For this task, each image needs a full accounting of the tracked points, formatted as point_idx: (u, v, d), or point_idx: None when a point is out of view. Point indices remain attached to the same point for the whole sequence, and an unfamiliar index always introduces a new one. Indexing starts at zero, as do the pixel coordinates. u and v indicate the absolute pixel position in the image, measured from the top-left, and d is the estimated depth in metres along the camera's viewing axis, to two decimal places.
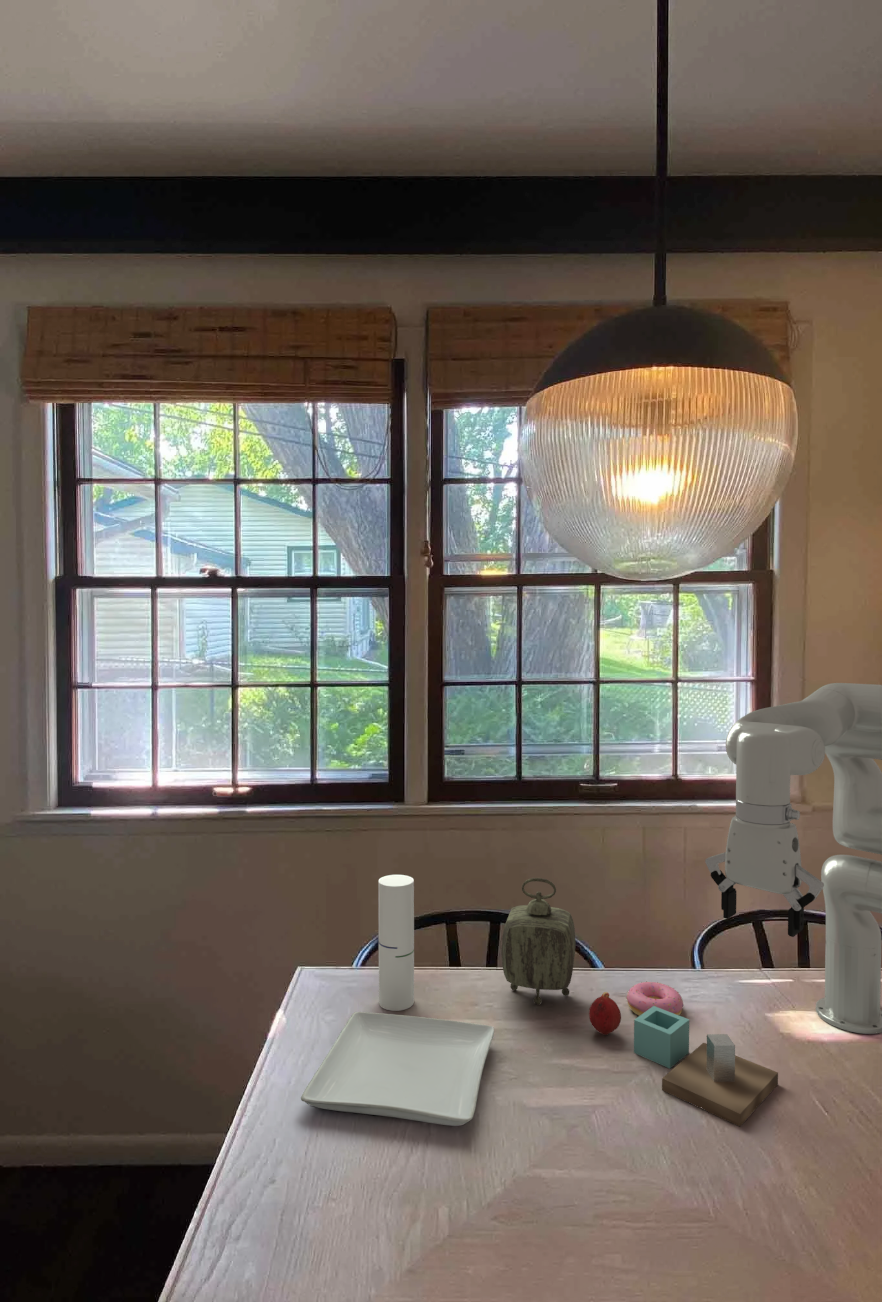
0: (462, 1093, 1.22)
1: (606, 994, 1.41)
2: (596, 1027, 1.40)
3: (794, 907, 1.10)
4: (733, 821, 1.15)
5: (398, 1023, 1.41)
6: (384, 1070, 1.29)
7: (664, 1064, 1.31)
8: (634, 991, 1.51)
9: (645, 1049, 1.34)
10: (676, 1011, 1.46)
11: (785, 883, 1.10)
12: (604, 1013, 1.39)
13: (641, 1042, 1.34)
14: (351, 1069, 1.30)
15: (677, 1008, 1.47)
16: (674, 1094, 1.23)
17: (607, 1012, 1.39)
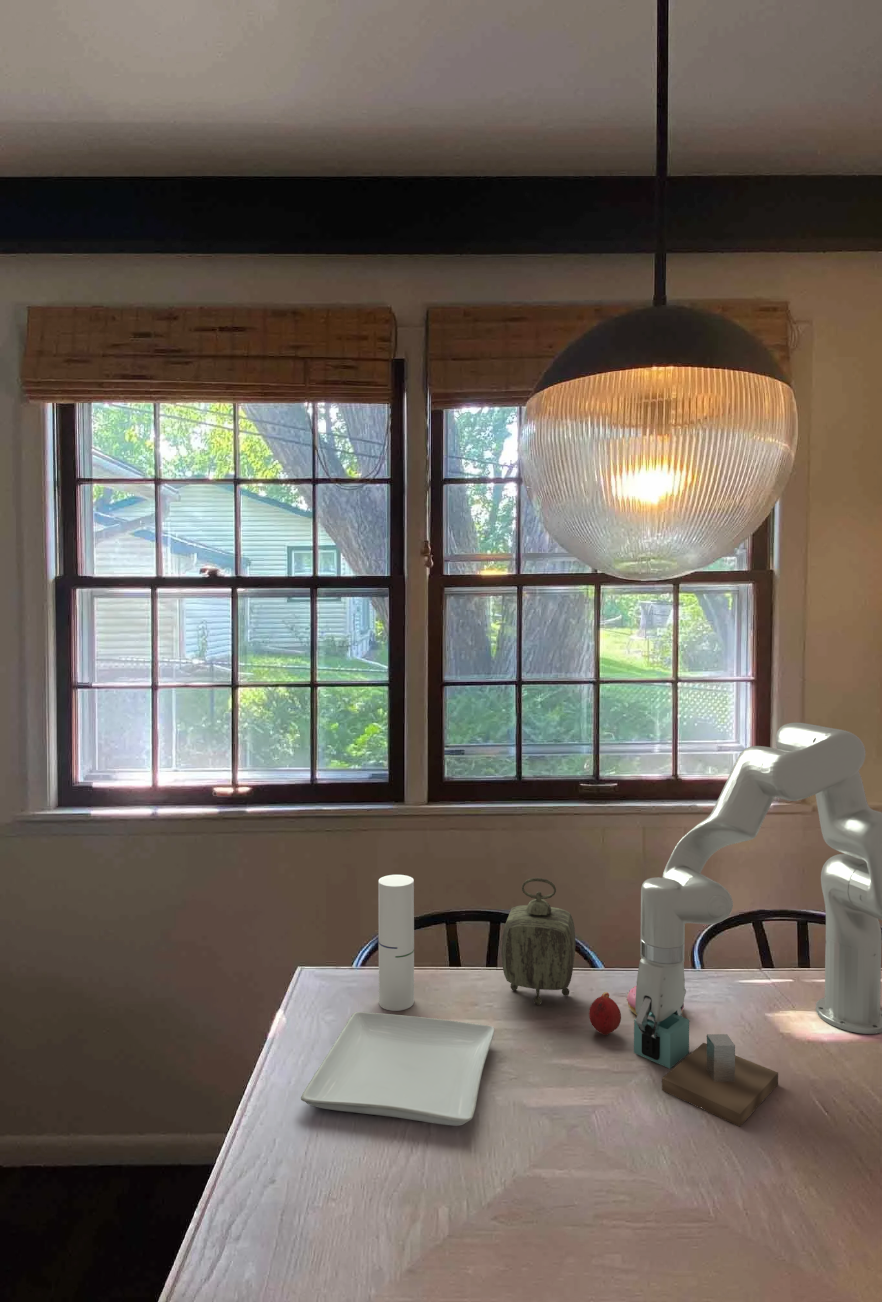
0: (462, 1093, 1.22)
1: (606, 994, 1.41)
2: (596, 1027, 1.40)
3: None
4: (662, 968, 1.31)
5: (398, 1024, 1.41)
6: (384, 1070, 1.29)
7: (664, 1064, 1.31)
8: (634, 992, 1.50)
9: None
10: None
11: (683, 996, 1.37)
12: (604, 1013, 1.39)
13: (641, 1042, 1.34)
14: (351, 1069, 1.30)
15: None
16: (674, 1094, 1.23)
17: (607, 1012, 1.39)
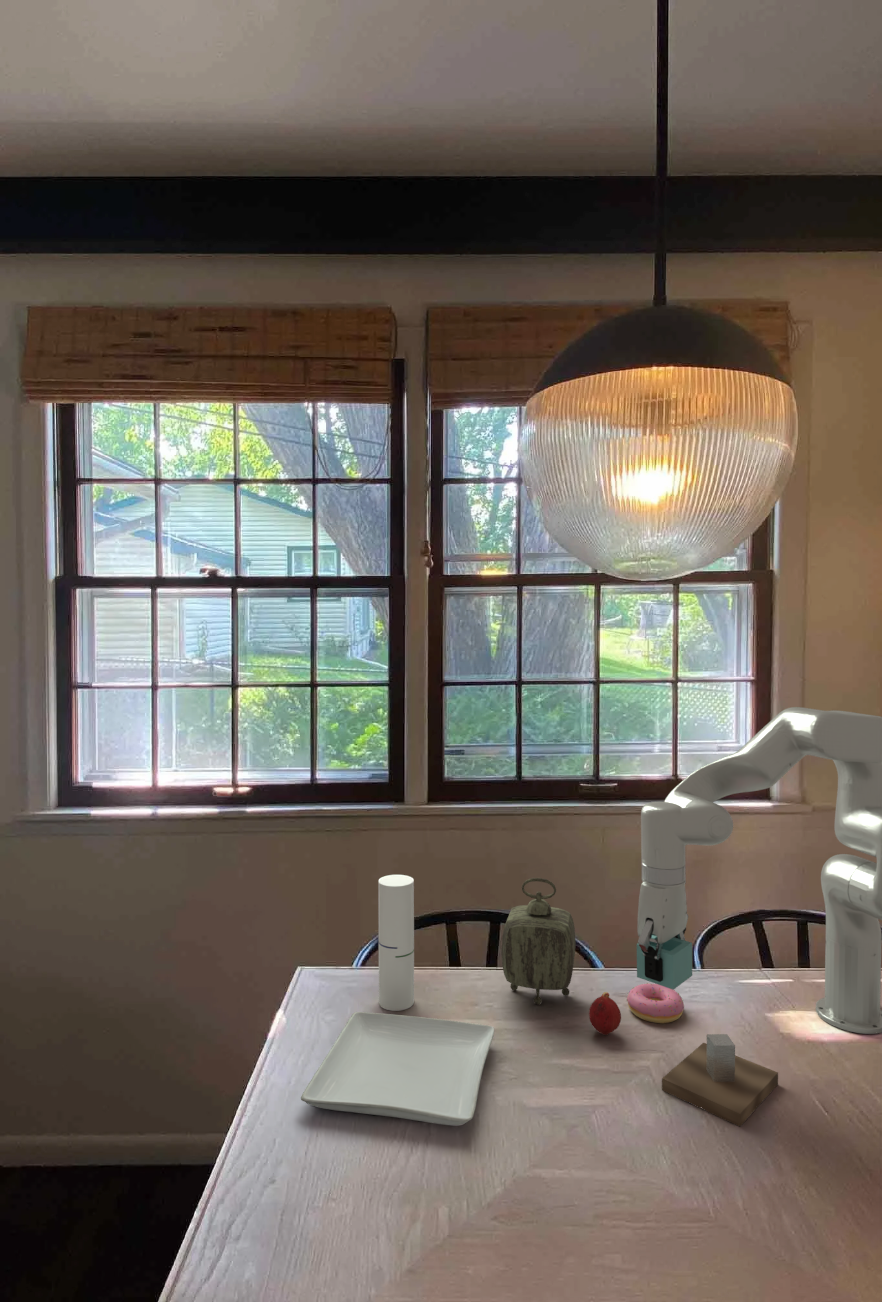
0: (462, 1093, 1.22)
1: (606, 994, 1.41)
2: (596, 1027, 1.40)
3: None
4: (664, 890, 1.31)
5: (398, 1024, 1.41)
6: (384, 1070, 1.29)
7: (667, 986, 1.31)
8: (634, 993, 1.50)
9: None
10: (677, 1013, 1.46)
11: (686, 920, 1.37)
12: (604, 1013, 1.39)
13: (644, 966, 1.34)
14: (352, 1069, 1.30)
15: (678, 1010, 1.46)
16: (674, 1094, 1.23)
17: (607, 1012, 1.39)
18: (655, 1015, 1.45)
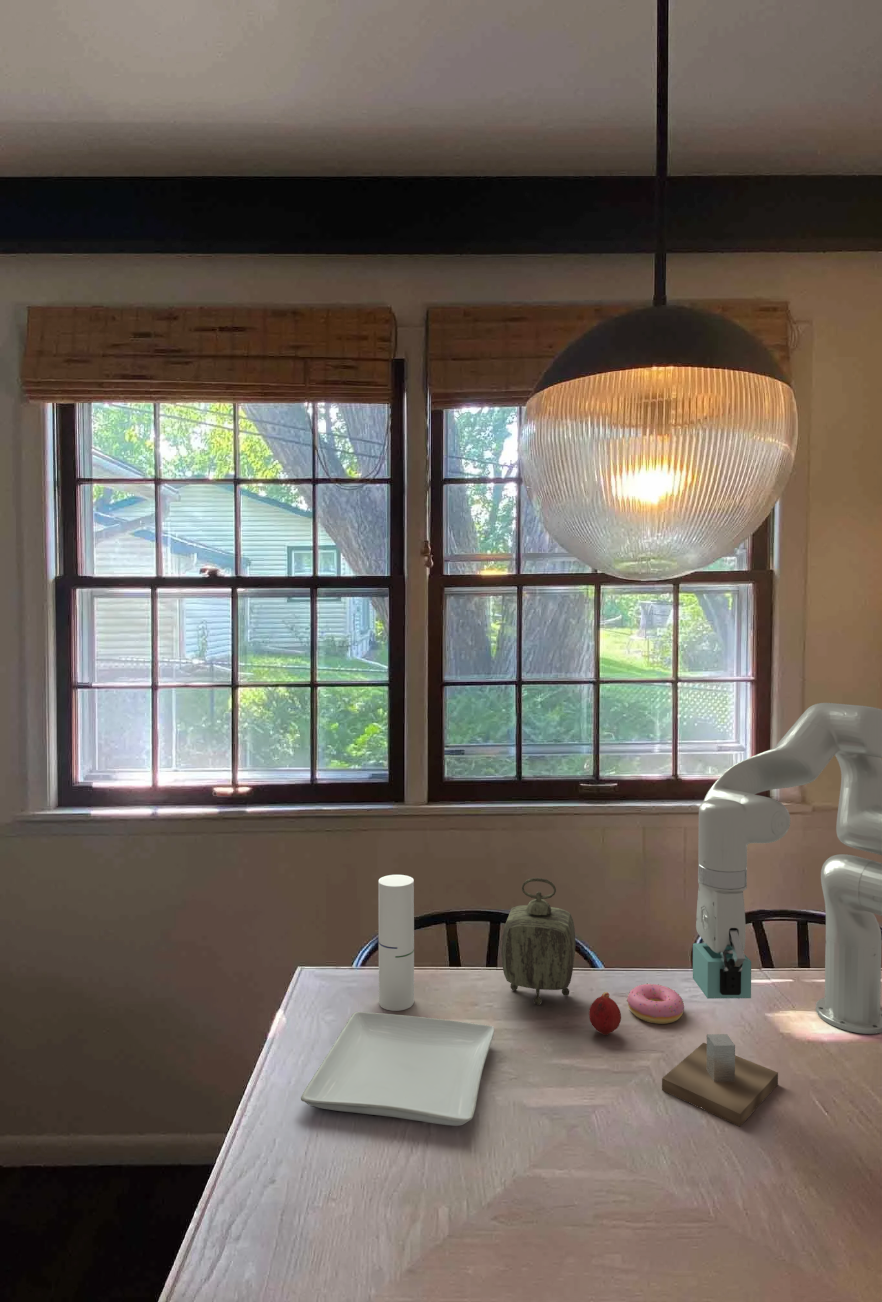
0: (462, 1093, 1.22)
1: (606, 994, 1.41)
2: (596, 1027, 1.40)
3: None
4: None
5: (398, 1023, 1.41)
6: (384, 1070, 1.29)
7: (744, 996, 1.22)
8: (635, 993, 1.50)
9: None
10: (677, 1013, 1.45)
11: None
12: (604, 1013, 1.39)
13: (716, 983, 1.21)
14: (352, 1069, 1.30)
15: (678, 1010, 1.46)
16: (674, 1094, 1.23)
17: (607, 1012, 1.39)
18: (655, 1016, 1.45)
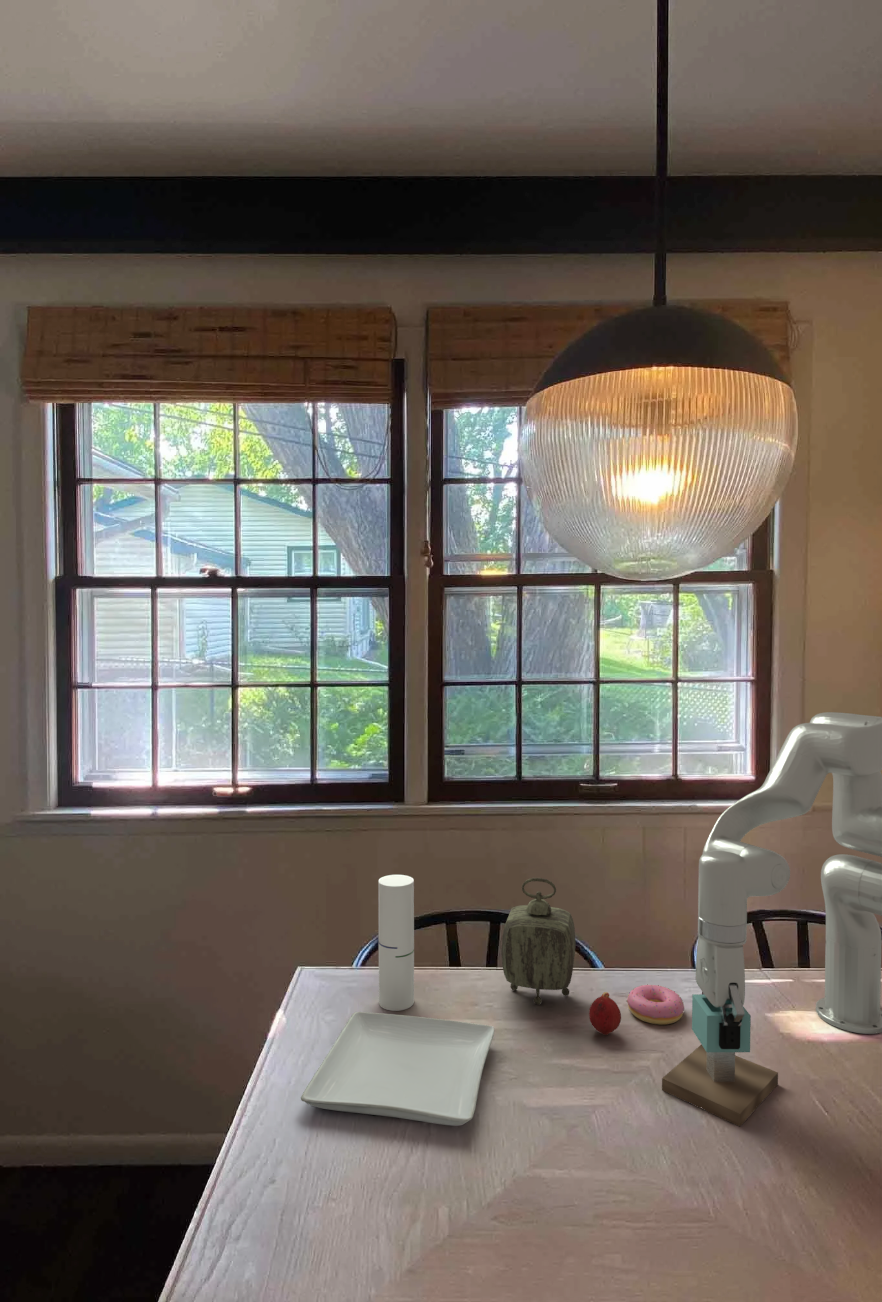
0: (462, 1093, 1.22)
1: (606, 994, 1.41)
2: (596, 1027, 1.40)
3: None
4: (742, 947, 1.21)
5: (398, 1023, 1.41)
6: (384, 1070, 1.29)
7: (743, 1050, 1.22)
8: (634, 994, 1.50)
9: None
10: (677, 1014, 1.45)
11: None
12: (604, 1013, 1.39)
13: (716, 1037, 1.22)
14: (352, 1069, 1.30)
15: (678, 1011, 1.45)
16: (674, 1094, 1.23)
17: (607, 1012, 1.39)
18: (655, 1017, 1.44)
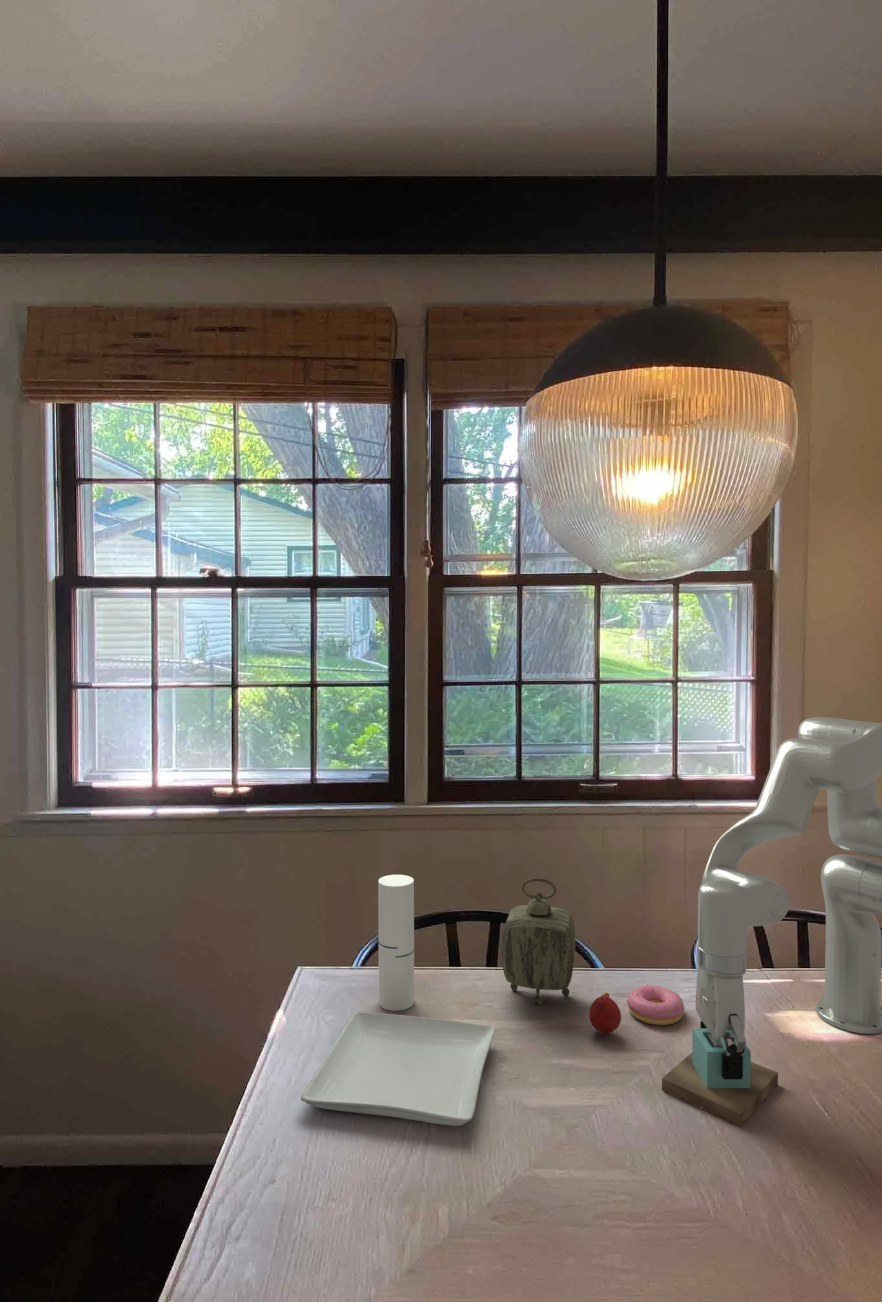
0: (462, 1093, 1.22)
1: (606, 994, 1.41)
2: (596, 1027, 1.40)
3: None
4: (742, 978, 1.21)
5: (399, 1023, 1.41)
6: (384, 1070, 1.29)
7: (743, 1086, 1.22)
8: (634, 995, 1.49)
9: (721, 1078, 1.22)
10: (677, 1015, 1.45)
11: None
12: (604, 1013, 1.39)
13: (716, 1073, 1.22)
14: (352, 1069, 1.30)
15: (678, 1012, 1.45)
16: (674, 1094, 1.23)
17: (607, 1012, 1.39)
18: (655, 1017, 1.44)
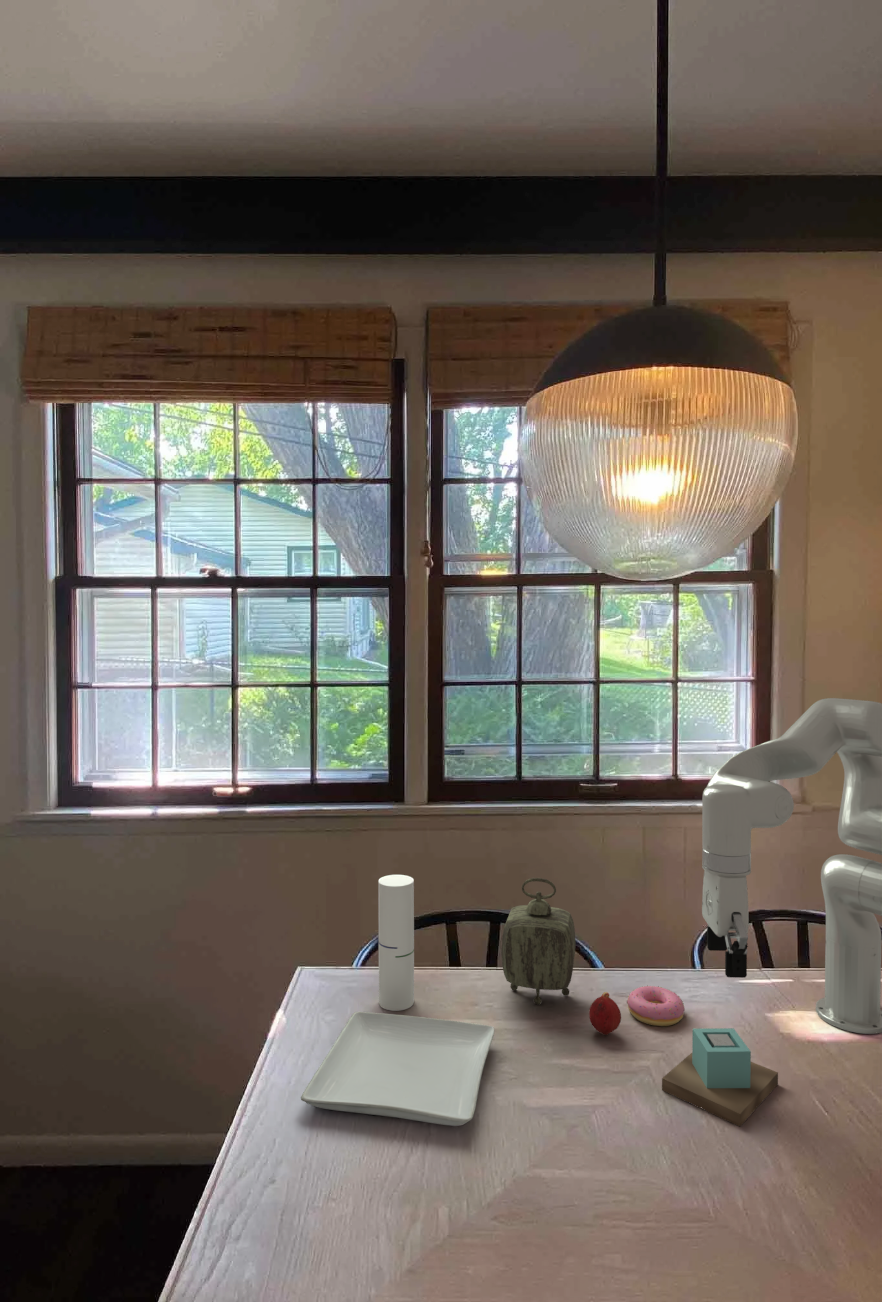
0: (462, 1093, 1.22)
1: (606, 994, 1.41)
2: (596, 1027, 1.40)
3: None
4: None
5: (399, 1023, 1.41)
6: (384, 1070, 1.29)
7: (743, 1086, 1.22)
8: (635, 995, 1.49)
9: (721, 1078, 1.22)
10: (677, 1016, 1.44)
11: None
12: (604, 1013, 1.39)
13: (716, 1073, 1.22)
14: (352, 1069, 1.30)
15: (678, 1013, 1.45)
16: (674, 1094, 1.23)
17: (607, 1012, 1.39)
18: (655, 1018, 1.44)
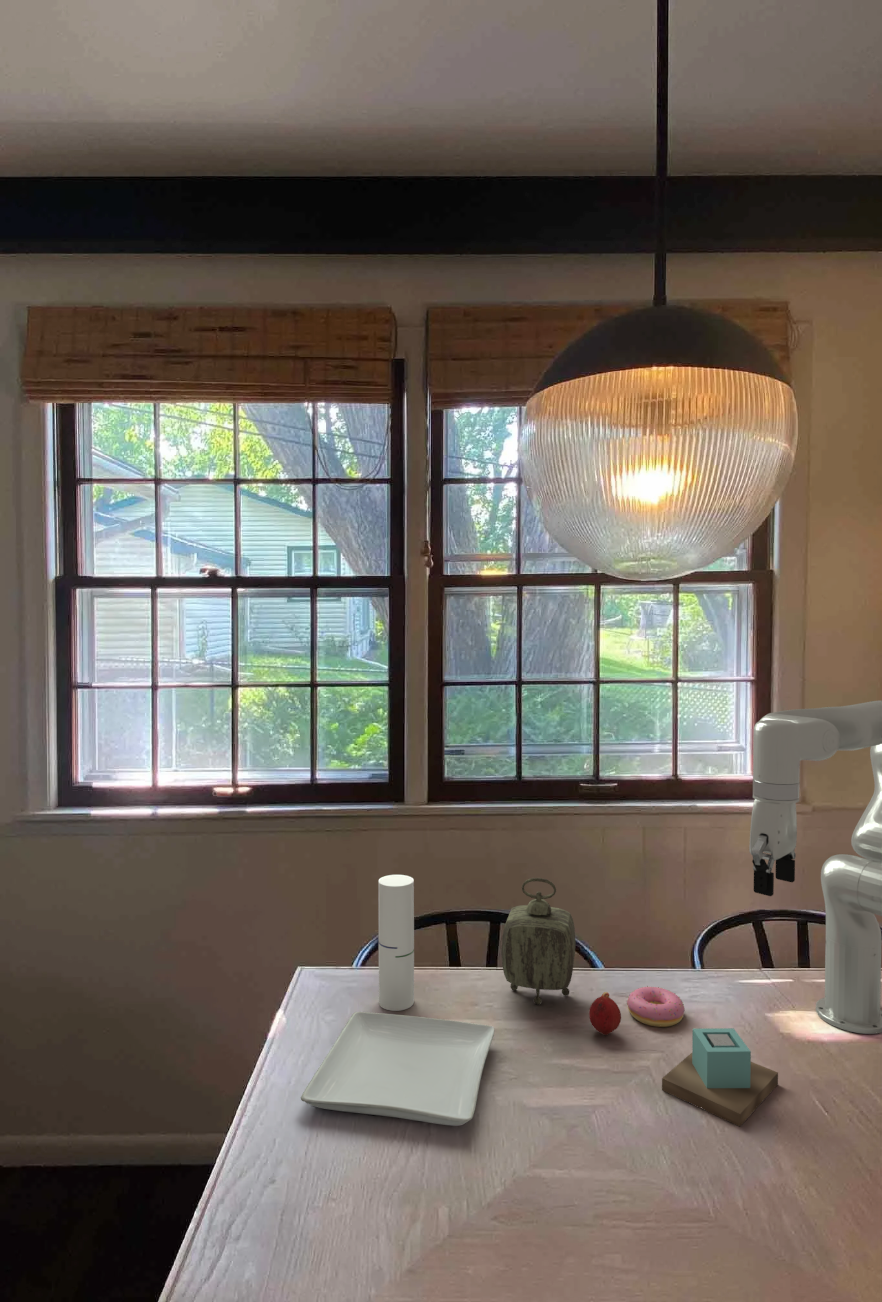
0: (462, 1093, 1.22)
1: (606, 994, 1.41)
2: (596, 1027, 1.40)
3: (793, 857, 1.36)
4: (779, 805, 1.29)
5: (399, 1023, 1.41)
6: (384, 1070, 1.29)
7: (743, 1086, 1.22)
8: (634, 996, 1.49)
9: (721, 1078, 1.22)
10: (677, 1016, 1.44)
11: (796, 840, 1.35)
12: (604, 1013, 1.39)
13: (716, 1073, 1.22)
14: (352, 1069, 1.30)
15: (678, 1013, 1.45)
16: (674, 1094, 1.23)
17: (607, 1012, 1.39)
18: (655, 1019, 1.44)
